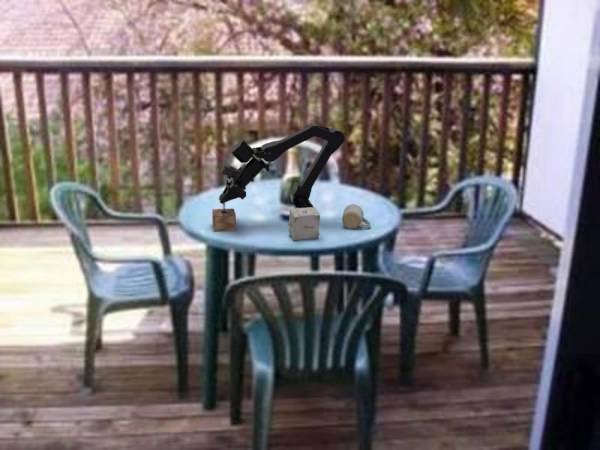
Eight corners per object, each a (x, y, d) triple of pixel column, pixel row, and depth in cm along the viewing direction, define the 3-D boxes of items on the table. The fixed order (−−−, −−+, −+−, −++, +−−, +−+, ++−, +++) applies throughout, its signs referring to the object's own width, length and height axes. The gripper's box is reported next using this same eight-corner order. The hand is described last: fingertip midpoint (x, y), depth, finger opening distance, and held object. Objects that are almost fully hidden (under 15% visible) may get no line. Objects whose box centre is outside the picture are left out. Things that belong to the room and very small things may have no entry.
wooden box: (233, 223, 283) (233, 208, 281) (236, 230, 275) (235, 215, 273) (212, 224, 281) (212, 209, 279) (214, 231, 274) (213, 215, 272)
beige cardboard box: (293, 242, 265) (294, 214, 261) (287, 234, 272) (288, 207, 269) (320, 240, 267) (321, 212, 264) (313, 232, 275) (314, 205, 272)
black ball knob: (231, 214, 280) (231, 190, 277) (232, 219, 275) (232, 195, 272) (215, 215, 279) (214, 191, 276) (216, 220, 274) (216, 195, 271)
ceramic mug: (341, 229, 279) (342, 209, 277) (343, 222, 287) (344, 203, 284) (369, 231, 278) (370, 211, 275) (370, 224, 286) (372, 205, 283)
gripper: (231, 150, 279) (202, 180, 281) (236, 162, 262) (205, 194, 263) (252, 170, 283) (223, 199, 285) (259, 183, 266) (228, 214, 267)
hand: (219, 201), depth 275 cm, fingers closed on black ball knob, 3 cm apart
